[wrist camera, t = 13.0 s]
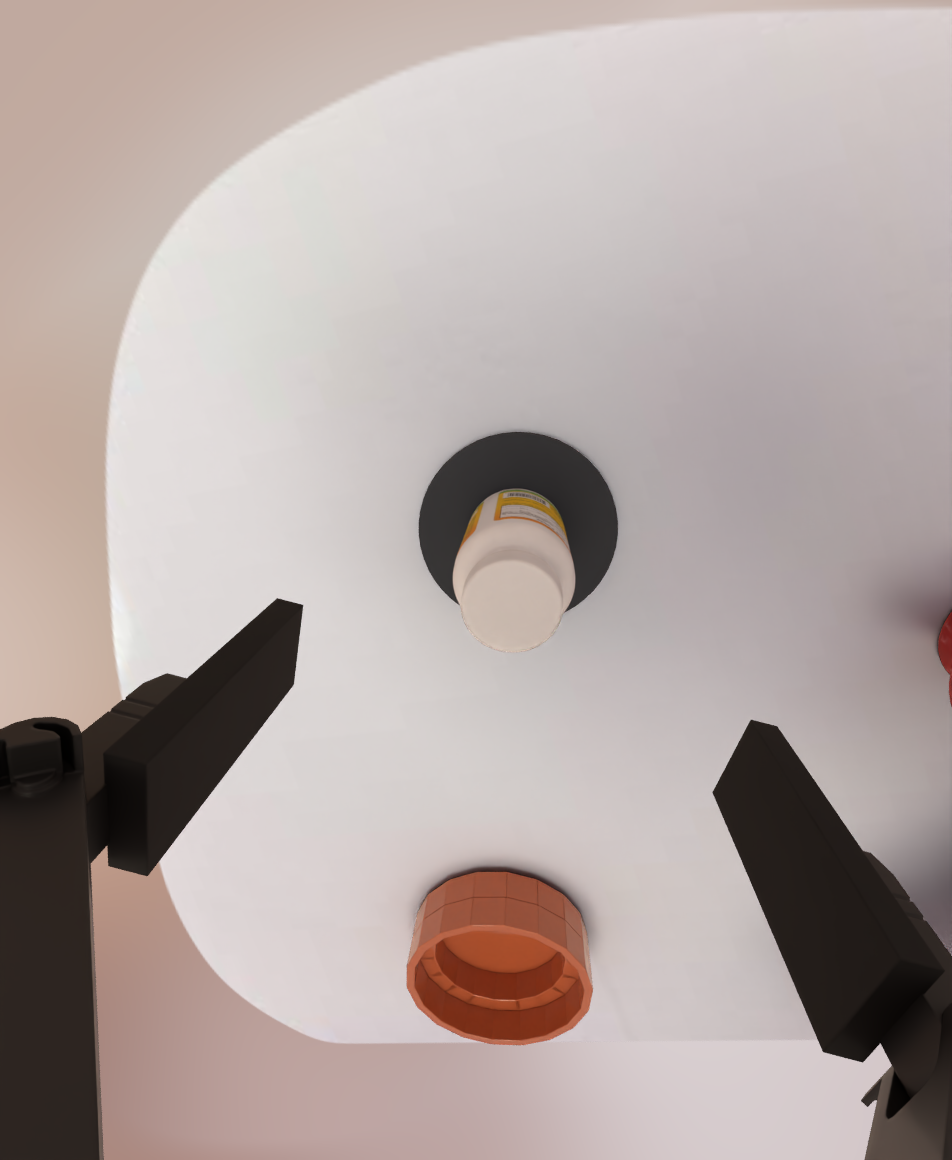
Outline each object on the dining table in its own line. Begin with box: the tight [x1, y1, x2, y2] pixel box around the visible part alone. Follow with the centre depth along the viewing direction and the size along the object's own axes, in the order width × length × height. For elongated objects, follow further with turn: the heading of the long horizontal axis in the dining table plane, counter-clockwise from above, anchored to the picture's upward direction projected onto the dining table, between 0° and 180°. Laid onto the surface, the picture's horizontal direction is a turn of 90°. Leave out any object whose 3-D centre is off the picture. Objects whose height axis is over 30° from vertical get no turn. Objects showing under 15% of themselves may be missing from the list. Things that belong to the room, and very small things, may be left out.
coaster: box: [419, 432, 618, 612], centre depth 30 cm, size 11×11×1 cm
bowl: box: [407, 872, 593, 1045], centre depth 40 cm, size 13×13×4 cm
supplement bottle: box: [453, 489, 575, 652], centre depth 25 cm, size 5×5×10 cm
